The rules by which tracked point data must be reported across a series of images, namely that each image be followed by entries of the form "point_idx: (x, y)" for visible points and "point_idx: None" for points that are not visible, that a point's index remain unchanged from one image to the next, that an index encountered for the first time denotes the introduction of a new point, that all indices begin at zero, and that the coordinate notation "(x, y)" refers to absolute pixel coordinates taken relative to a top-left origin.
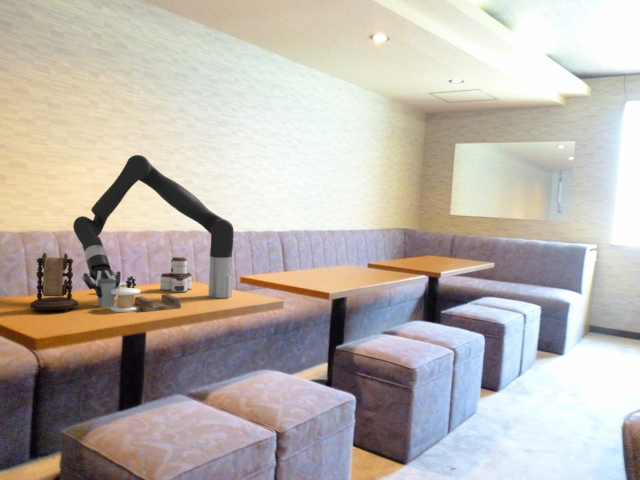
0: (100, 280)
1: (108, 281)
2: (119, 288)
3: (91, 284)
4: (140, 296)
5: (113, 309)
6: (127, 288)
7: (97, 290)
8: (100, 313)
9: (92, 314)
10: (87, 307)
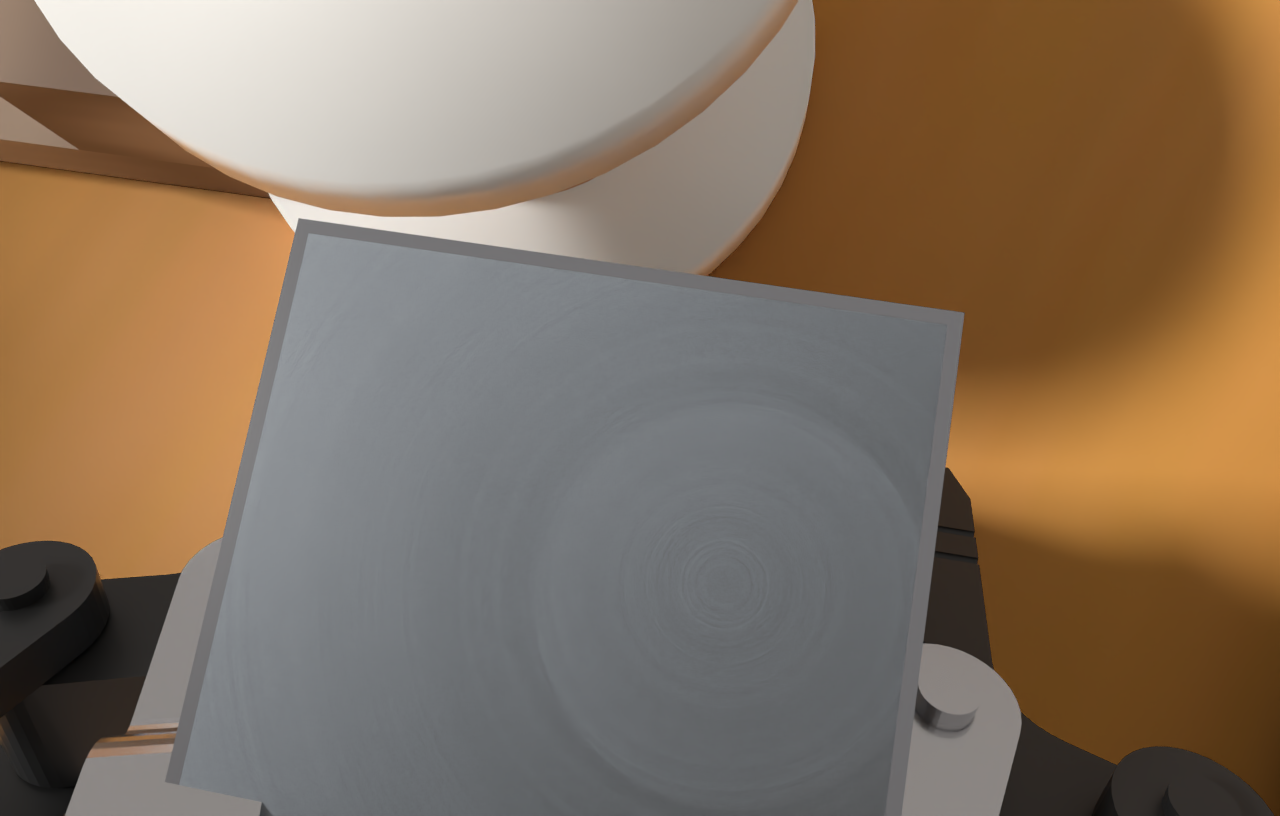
0: (929, 568)
1: (640, 285)
2: (375, 144)
3: (1232, 804)
4: (2, 77)
5: (811, 14)
6: (182, 13)
7: (965, 576)
8: (1094, 12)
9: (1262, 14)
10: (1038, 724)
